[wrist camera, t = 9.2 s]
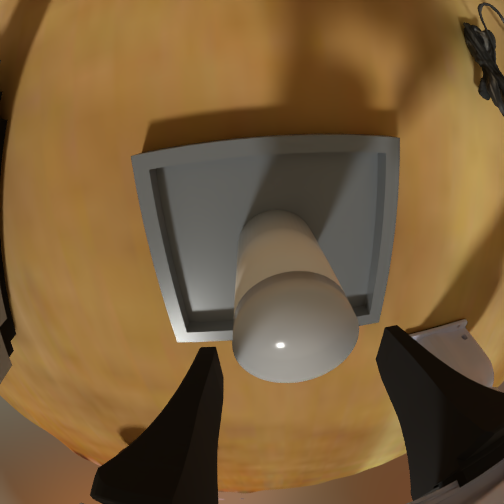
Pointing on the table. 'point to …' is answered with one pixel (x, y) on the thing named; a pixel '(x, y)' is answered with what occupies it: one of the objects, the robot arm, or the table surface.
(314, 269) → the cylinder
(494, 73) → the headset
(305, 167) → the tray
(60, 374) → the table surface
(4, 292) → the game console
